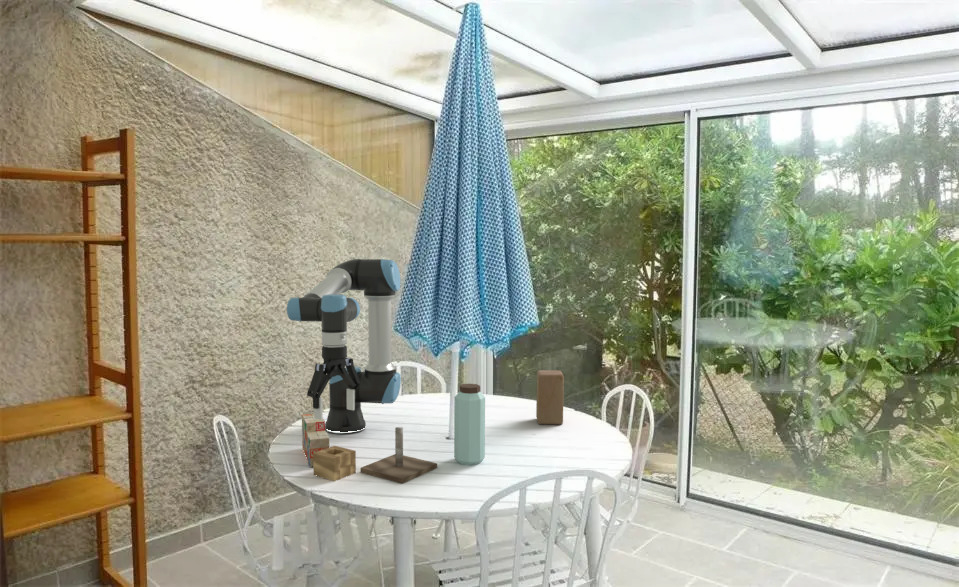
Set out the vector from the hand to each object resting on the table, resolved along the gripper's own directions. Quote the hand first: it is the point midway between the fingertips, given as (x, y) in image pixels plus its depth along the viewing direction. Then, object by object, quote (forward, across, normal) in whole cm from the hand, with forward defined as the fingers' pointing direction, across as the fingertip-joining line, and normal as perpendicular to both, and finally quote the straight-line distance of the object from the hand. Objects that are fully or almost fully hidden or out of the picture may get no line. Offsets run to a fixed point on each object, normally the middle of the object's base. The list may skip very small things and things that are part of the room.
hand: (335, 414), depth 209 cm
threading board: (+19, +14, -14) cm, 27 cm away
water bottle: (+19, +34, -27) cm, 47 cm away
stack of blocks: (+19, +8, +18) cm, 27 cm away
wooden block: (+19, +92, -26) cm, 97 cm away
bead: (+19, 0, 0) cm, 19 cm away
